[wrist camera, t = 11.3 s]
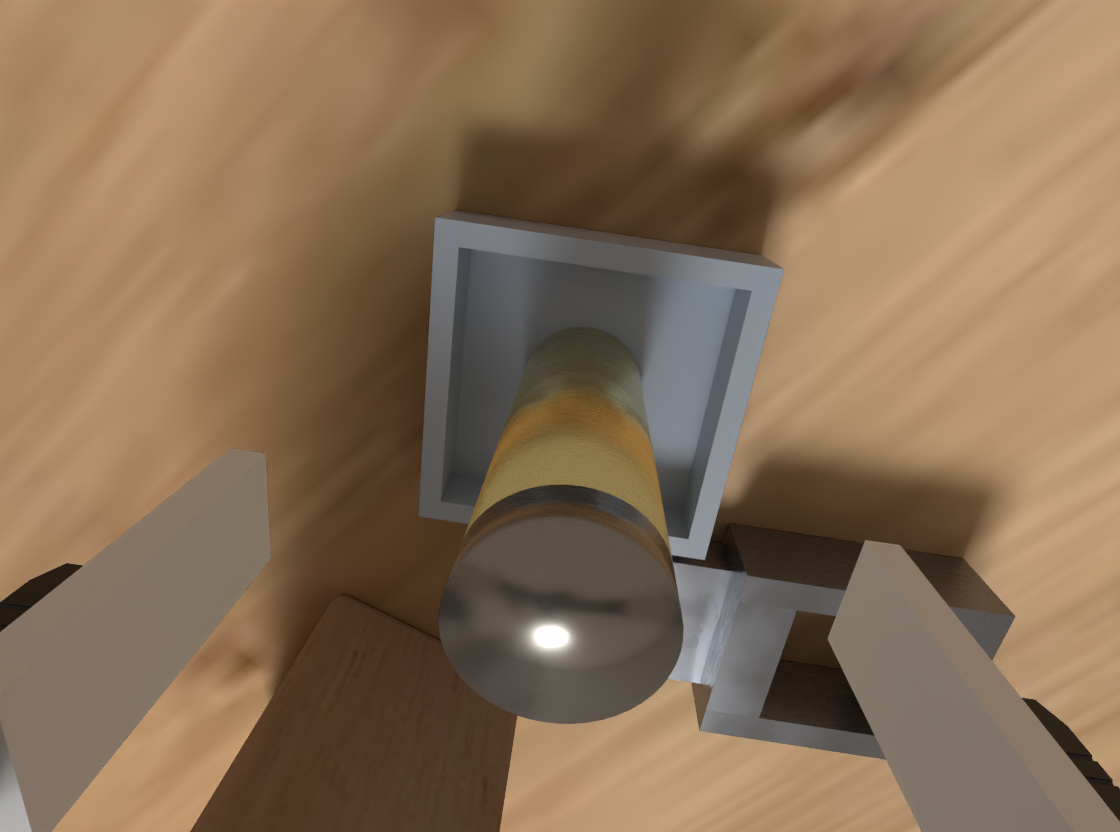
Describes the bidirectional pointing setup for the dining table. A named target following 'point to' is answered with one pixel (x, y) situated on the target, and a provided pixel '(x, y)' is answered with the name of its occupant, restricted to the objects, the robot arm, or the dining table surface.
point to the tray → (603, 303)
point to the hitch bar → (764, 624)
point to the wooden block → (368, 740)
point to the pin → (567, 546)
